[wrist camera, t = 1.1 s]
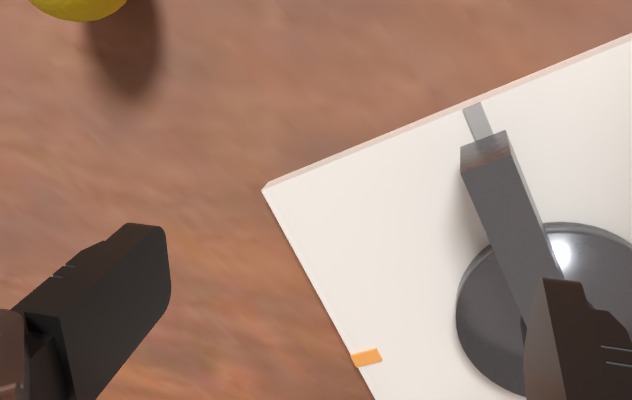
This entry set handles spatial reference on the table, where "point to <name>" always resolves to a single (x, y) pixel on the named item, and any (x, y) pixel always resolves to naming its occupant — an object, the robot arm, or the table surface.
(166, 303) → the robot arm
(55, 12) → the lemon
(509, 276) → the dial
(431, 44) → the table surface
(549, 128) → the dial plate
